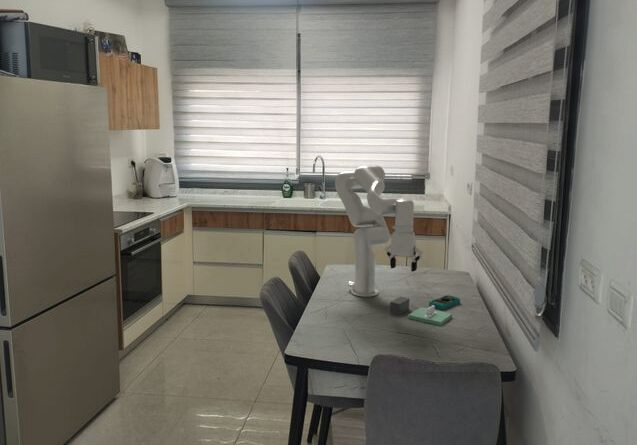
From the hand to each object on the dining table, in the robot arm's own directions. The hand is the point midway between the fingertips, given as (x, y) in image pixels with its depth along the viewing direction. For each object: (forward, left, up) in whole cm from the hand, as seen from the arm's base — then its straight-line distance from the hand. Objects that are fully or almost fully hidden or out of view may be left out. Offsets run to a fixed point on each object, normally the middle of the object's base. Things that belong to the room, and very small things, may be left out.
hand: (403, 269), depth 230 cm
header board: (+13, -1, -18) cm, 23 cm away
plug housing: (-1, -1, -18) cm, 18 cm away
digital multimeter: (+11, +19, -19) cm, 29 cm away
